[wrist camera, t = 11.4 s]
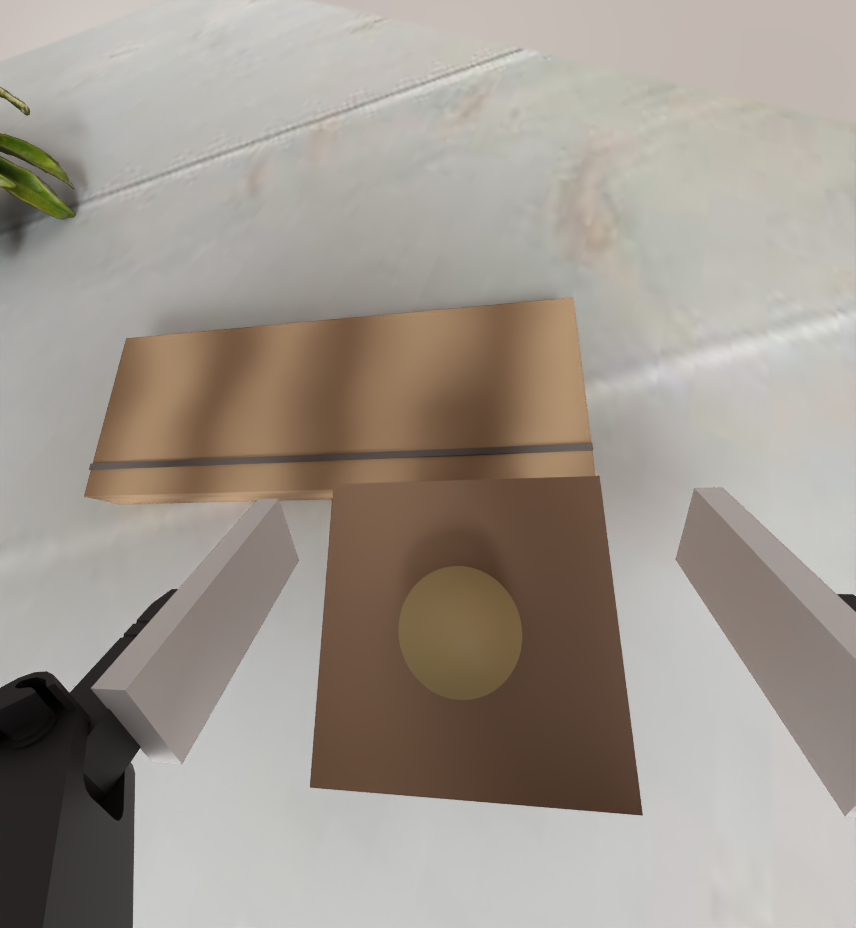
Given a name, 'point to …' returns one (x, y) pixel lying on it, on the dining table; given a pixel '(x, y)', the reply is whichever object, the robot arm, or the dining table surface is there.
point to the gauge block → (474, 646)
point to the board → (346, 406)
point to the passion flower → (24, 180)
